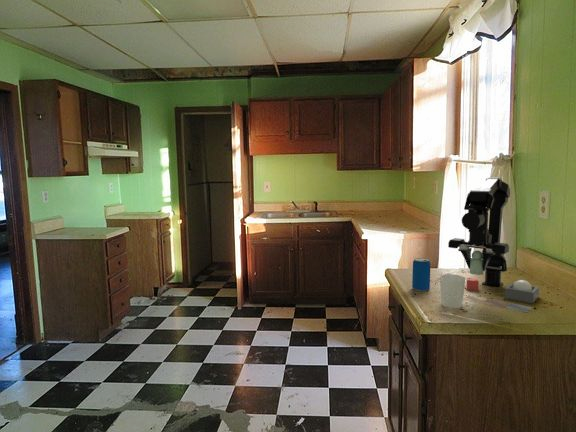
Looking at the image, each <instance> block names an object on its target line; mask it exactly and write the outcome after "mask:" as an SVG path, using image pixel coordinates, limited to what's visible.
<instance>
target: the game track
mask: <svg viewBox="0 0 576 432" xmlns="http://www.w3.org/2000/svg"><path fill="white" fill-rule="evenodd" d="M463 301H468V302H473V303H478V304H484V305H488V306H493V307H497V308H503V309H505V308H506V309H507V310H513V311H518V312H522V313H529V312H530V311H531V310H532V309H533V307H532V306H527V305H522V304H516V303H511V302H506V301H501V300H496V299H491V298H489V299H488V298H486V297H481V296H476V295H470V294H469V295H467V296H466V297H465V298H464V297H463Z"/></svg>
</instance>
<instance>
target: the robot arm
mask: <svg viewBox="0 0 576 432" xmlns="http://www.w3.org/2000/svg"><path fill="white" fill-rule="evenodd" d="M510 197H511V188H510V186H509V184H508V183H506V182H504V181H503V179H502V178H501V177H487V178H485V181H484V182H483V184H482V185H481V186H479V187H478V188H473V189H471V190H470V191H469V193H468V194H467V197H466V201H465V203H464V209H463V210H464V211H468V212H466V213H465V214H464V215H463V216H462V218H461V223H462V226H463V227H464V228H466V229H467V230H468V233H469V235H468V236H469V237H468V241H466V240H465V238H458V237H454V238H452V239H449V240H448V244H447V245H448V248H450V249H457V250H458V252H460V253H461V254H462V256H463V258H464V261H465V263H466V265H467V268H468V269H469V270H470V259H471V258H472V248H473V249H481V252H482V254H483V258H482V259H483V272H484V273H485V274H484V281H483V282H481V285H482V286H483V285H484V286H490V287H495V288H500V287H501V286H502V285H504V282H501V281H502V273H505V272H507V271H508V264H507V260H506V256H505V254H507V253H509V252H510V246H509V244H508V243H504V242H501V239H502V238H501V237H502V236H501V235H502V222H503V211H504V210H503V209H504V208H505V206H506V205H507V204H508V202H509V201H508V200H509V198H510Z"/></svg>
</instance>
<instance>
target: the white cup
mask: <svg viewBox="0 0 576 432" xmlns="http://www.w3.org/2000/svg"><path fill="white" fill-rule="evenodd" d="M439 277H440V280H439V281H440V285H439V286H440V289H439V290H440V304H441V306H443V307H445V308H450V309H460V308H462V307H463V301H464V300H463V299H464V295H465V285H466V284H465V283H466V282H465V281H466V278H465V276H462V275H459V274H454V273H453V274H452V273H450V274H441V275H440V276H439Z"/></svg>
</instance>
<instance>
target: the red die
mask: <svg viewBox="0 0 576 432" xmlns="http://www.w3.org/2000/svg"><path fill="white" fill-rule="evenodd" d="M479 283H480V281H479V278H478V277H477V278H476V277H466V290H468V291H478V292H479V285H480V284H479Z"/></svg>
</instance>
